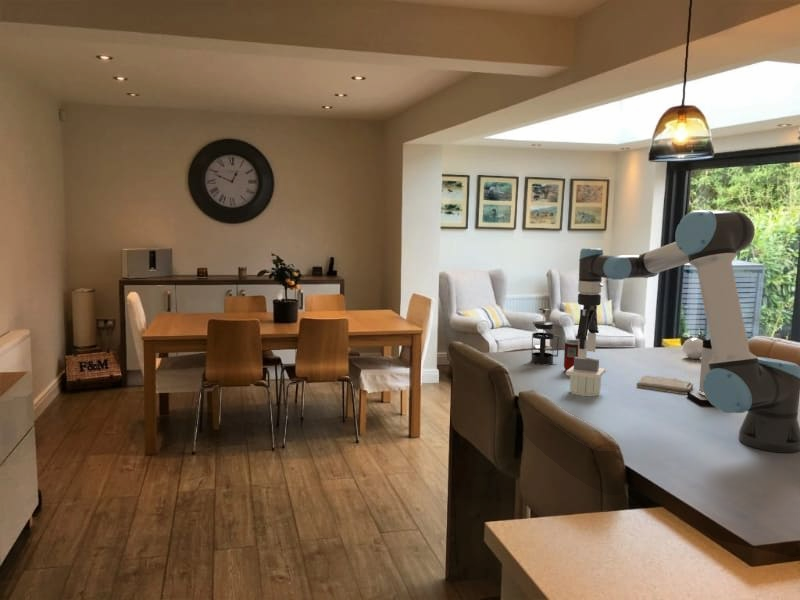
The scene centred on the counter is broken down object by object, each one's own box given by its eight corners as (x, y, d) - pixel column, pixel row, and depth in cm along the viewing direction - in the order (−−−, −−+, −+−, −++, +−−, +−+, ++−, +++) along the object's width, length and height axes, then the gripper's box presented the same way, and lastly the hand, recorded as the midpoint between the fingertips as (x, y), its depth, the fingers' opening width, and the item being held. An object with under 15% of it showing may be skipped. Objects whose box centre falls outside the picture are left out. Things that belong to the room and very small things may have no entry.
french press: (528, 363, 269) (530, 309, 266) (530, 359, 278) (532, 306, 275) (557, 365, 266) (559, 310, 263) (558, 360, 275) (560, 307, 272)
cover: (598, 378, 216) (599, 363, 216) (566, 374, 222) (566, 359, 221) (605, 372, 226) (606, 357, 225) (574, 368, 231) (574, 354, 230)
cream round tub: (596, 398, 218) (597, 378, 217) (566, 394, 222) (567, 374, 222) (602, 391, 226) (603, 372, 225) (574, 387, 231) (575, 368, 230)
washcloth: (689, 396, 223) (689, 387, 223) (635, 388, 232) (635, 380, 232) (693, 388, 233) (694, 380, 233) (641, 381, 242) (642, 373, 242)
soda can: (581, 373, 252) (583, 343, 250) (563, 372, 254) (564, 342, 252) (582, 370, 258) (583, 340, 257) (564, 368, 260) (565, 339, 259)
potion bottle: (679, 359, 286) (716, 367, 280) (681, 350, 278) (719, 358, 272) (683, 341, 290) (719, 348, 284) (685, 332, 282) (722, 338, 276)
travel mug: (708, 397, 219) (712, 340, 217) (695, 392, 225) (698, 336, 223) (723, 396, 221) (728, 339, 218) (709, 391, 227) (713, 336, 225)
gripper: (592, 297, 208) (589, 362, 210) (608, 290, 229) (605, 349, 231) (569, 296, 211) (566, 359, 214) (587, 289, 232) (584, 347, 235)
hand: (586, 354), depth 223 cm, fingers open, 12 cm apart
